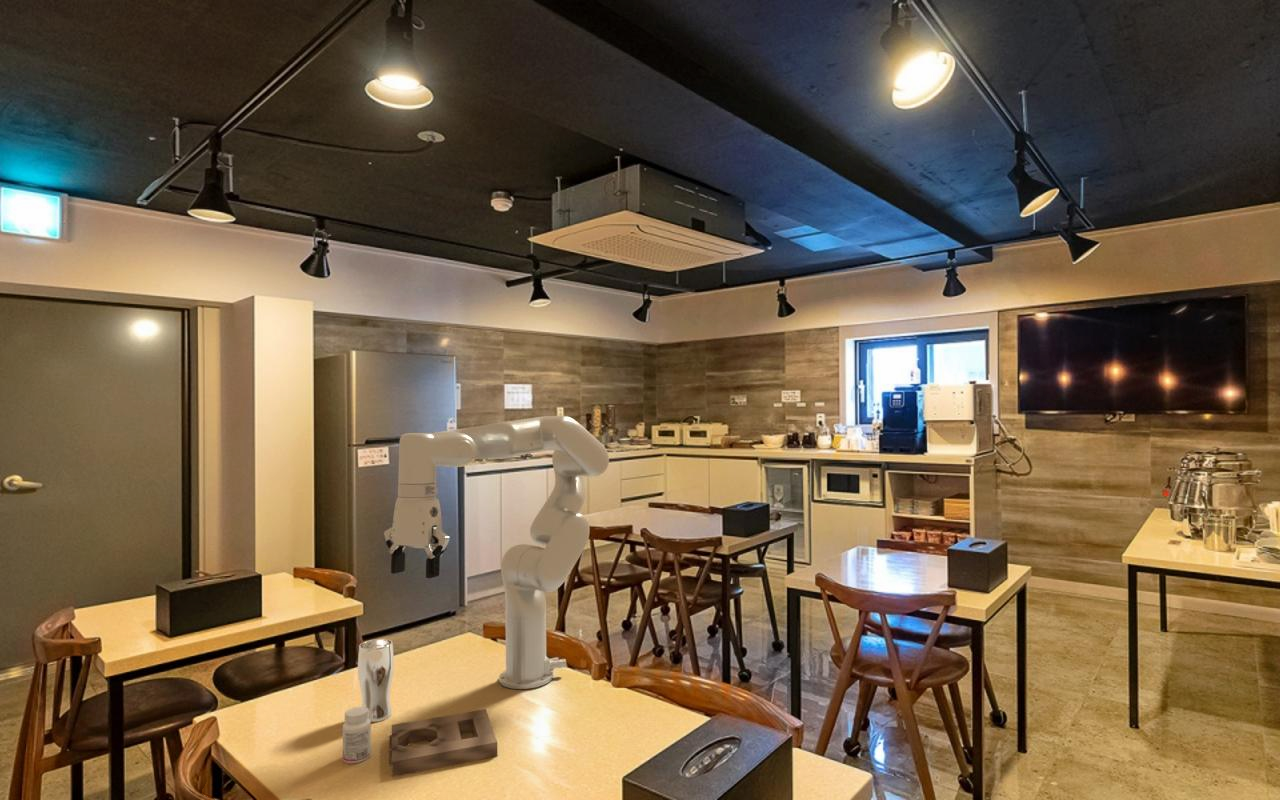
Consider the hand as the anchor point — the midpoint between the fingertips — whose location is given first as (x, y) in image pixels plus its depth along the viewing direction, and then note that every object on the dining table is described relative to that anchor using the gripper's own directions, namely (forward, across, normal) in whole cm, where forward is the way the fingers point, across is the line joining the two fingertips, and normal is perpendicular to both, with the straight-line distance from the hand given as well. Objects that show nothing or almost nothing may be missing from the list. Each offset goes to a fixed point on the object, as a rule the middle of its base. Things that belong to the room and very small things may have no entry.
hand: (414, 574), depth 135 cm
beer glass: (+30, +8, +1) cm, 31 cm away
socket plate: (+30, -14, +5) cm, 33 cm away
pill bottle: (+30, -2, +15) cm, 34 cm away
